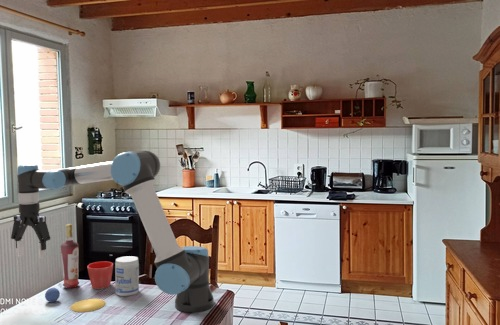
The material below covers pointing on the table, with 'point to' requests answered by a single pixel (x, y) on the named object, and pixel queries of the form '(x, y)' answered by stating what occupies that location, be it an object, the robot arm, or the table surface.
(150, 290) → the table surface
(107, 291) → the table surface
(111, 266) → the flower pot
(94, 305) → the disc
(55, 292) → the ball
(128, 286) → the supplement tub
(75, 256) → the liquor
